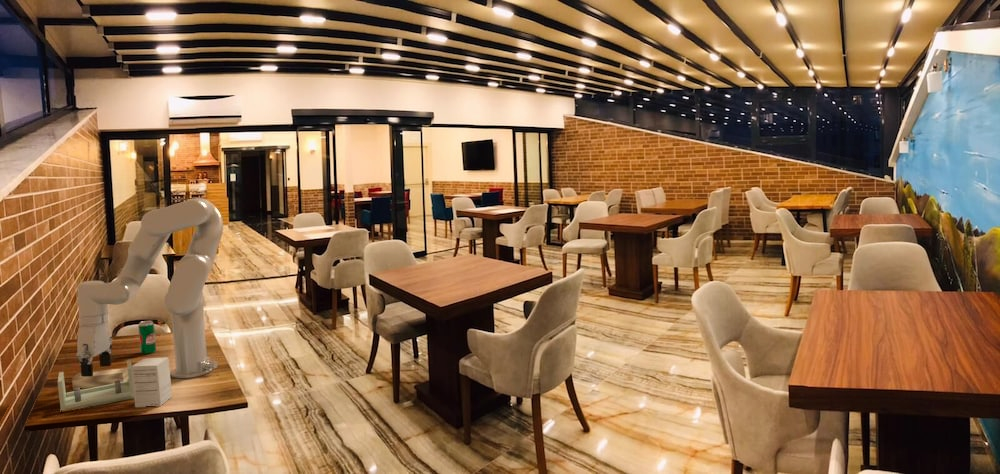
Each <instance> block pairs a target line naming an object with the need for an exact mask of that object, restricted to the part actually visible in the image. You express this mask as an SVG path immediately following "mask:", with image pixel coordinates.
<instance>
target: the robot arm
mask: <svg viewBox="0 0 1000 474" xmlns="http://www.w3.org/2000/svg"><path fill="white" fill-rule="evenodd" d="M192 227H195V228H194V232H193V234H192V236H191V239H190V242H189V246H188V248H187V250H186V253H185V255H184V256H182V257H181V259H180V260H179V261H178V263H177V264H176V267H175V269H174V272H173V275H172V277H171V280H170V283H169V286H168V288H167V291H166V294H165V296H164V306H165V308H166V309H167V311H168V312H169V313H170V314H171V325H172V336H173V337H172V338H173V346H174V347H173V349H174V360H175V368H174V369H173V370H172V371H170V377H172V378H175V379H191V378H196V377H197V378H198V377H200V376H203V375H206V374H209V373H210V372H212V371H213V369H217V367H218V360H211V356H208V354H207V353H208V352H207V342H206V341H207V339H206V329H205V328H206V326H205V313H204V312H205V310H204V309H205V307H204V305H205V304H204V303H205V301H204V293H203V291H204V287H205V283H206V281H207V278H208V276H209V274H211V271H212V268H213V264H214V261H215V258H216V254H217V252H218V248H219V246H220V243H221V241H222V240H221V239H222V237H223V230H224V220H223V216H222V214H221V213H220V210H218V208H217V207H216V205H214V204H213V203H212V202H211V201H210V200H208V199H206V198H202V197H196V198H191V199H188V200H185V201H181V202H179V203H174V204H172V205H168V206H165V207H160V208H157V209H153V210H148V211H147V212H146V213H145V214H143V216H142V218H141V220H140V228H139V230H138V232H137V233H136V235H135V236H134V238H133V240H132V242H131V243H130V244H129V246H128V249H127V254H128V256H127V258H126V262H125V264H124V265H123V267H122V269H121V271H120V273H119V274H118V276H116V279H114V280H113V281H111V282H104V281H102V280H88V281H83V282H80V283H78V285H77V286H76V287H77V290H76V291H77V302H78V303H77V307H78V321H79V325H78V326H79V327H78V331H77V341H76V342H77V352H76V355H75V356H76V359H77V362H78V364H79V365H80V373H81V376H82V377H88V376H93V371H94V367H93V363H92V361H93V358H94V357H97V356H98V355H99V356H98V357H99V366H100V367H110V366H112V360H111V359H112V358H111V354H112V347H113V345H112V344H113V339H114V338H112V337H111V334H110V327H109V313H108V312H109V311H108V305H114V306H116V305H123V304H124V303H126V302H129V300H131V298H133V297H134V296H136V295H137V294H138V292H139V291H140V289H141V287H142V285H143V283H144V282H145V280H146V278H147V276H148V275H149V273H150V271H151V269H152V268H153V266H154V264H155V262H156V260H157V258H158V257H159V255H160V254H161V252H162V250H163V248H164V246H165V244H166V243H167V241H168V239H169V238H170V236H171V234H173V233H177V232H180V231H183V230H187V229H190V228H192ZM87 358H88V359H87Z"/></svg>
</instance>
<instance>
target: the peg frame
mask: <svg viewBox="0 0 1000 474" xmlns="http://www.w3.org/2000/svg"><path fill="white" fill-rule="evenodd" d="M131 366H133V365H132V361H131V359H128V360H126V368H128V378H129V379H128V380H127V381H125V382H120V380H116V381H115V383H114V384H109V385H104V386H99V387H91V388H82V389H80V388H75V389H73V391H69V392H66V384H65V374H64V371H59V372H58V378H57V389H58V397H59V405H60V406H59V407H60V410H59V411H61V410H67V409H73V408H80V407H88V406H93V407H96V406H97V405H98V406H102V405H107V404H111V403H116V402H120V401H127V400H130V399H134V391H133V381H132V370H131ZM88 408H89V407H88Z"/></svg>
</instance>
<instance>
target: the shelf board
mask: <svg viewBox="0 0 1000 474" xmlns="http://www.w3.org/2000/svg"><path fill="white" fill-rule="evenodd" d="M116 380H120V382H125V381H129V378H128V368H127V367H123V368H115V369H113V368H112V369H105V370H95V371H94V370H93V376H88V377H82V376H81V372H78V373H76V374H75V375H74V376H73V377H72V378H71V382H72V383H71V384H72V390H74V389H75V388H82V389H88V388H94V387H99V386H104V385H109V384H114V383H115V381H116Z"/></svg>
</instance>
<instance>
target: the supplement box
mask: <svg viewBox="0 0 1000 474" xmlns="http://www.w3.org/2000/svg"><path fill="white" fill-rule="evenodd" d="M131 370H132V381H133V391H134V398H133V399H134V408H147V407H146V406H156V407H162V406H163V405H162V404H166V402H167V401H169V400H170V399H171V398H172V397H173V391H172V382H171V381H172V380H171V368H170V360H169V357H165V356H163V357H147V358H143V359H141V360H140V361H137V362H136V363H134V364H133V365H132V366H131ZM168 399H169V400H168Z"/></svg>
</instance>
